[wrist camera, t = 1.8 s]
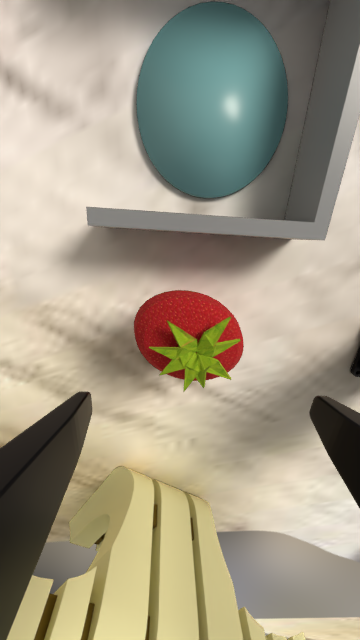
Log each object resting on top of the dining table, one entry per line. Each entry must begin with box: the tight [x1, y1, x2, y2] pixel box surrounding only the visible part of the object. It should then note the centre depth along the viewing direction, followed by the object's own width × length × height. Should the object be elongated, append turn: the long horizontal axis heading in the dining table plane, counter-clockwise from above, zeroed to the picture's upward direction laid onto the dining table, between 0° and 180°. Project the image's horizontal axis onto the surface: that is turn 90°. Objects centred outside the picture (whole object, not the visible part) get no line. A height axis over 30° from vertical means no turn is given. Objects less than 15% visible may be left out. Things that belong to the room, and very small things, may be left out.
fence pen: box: [86, 0, 360, 240], centre depth 13 cm, size 15×15×4 cm
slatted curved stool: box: [7, 467, 306, 640], centre depth 21 cm, size 30×16×18 cm, turn 54°
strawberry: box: [134, 290, 244, 391], centre depth 15 cm, size 6×8×10 cm
